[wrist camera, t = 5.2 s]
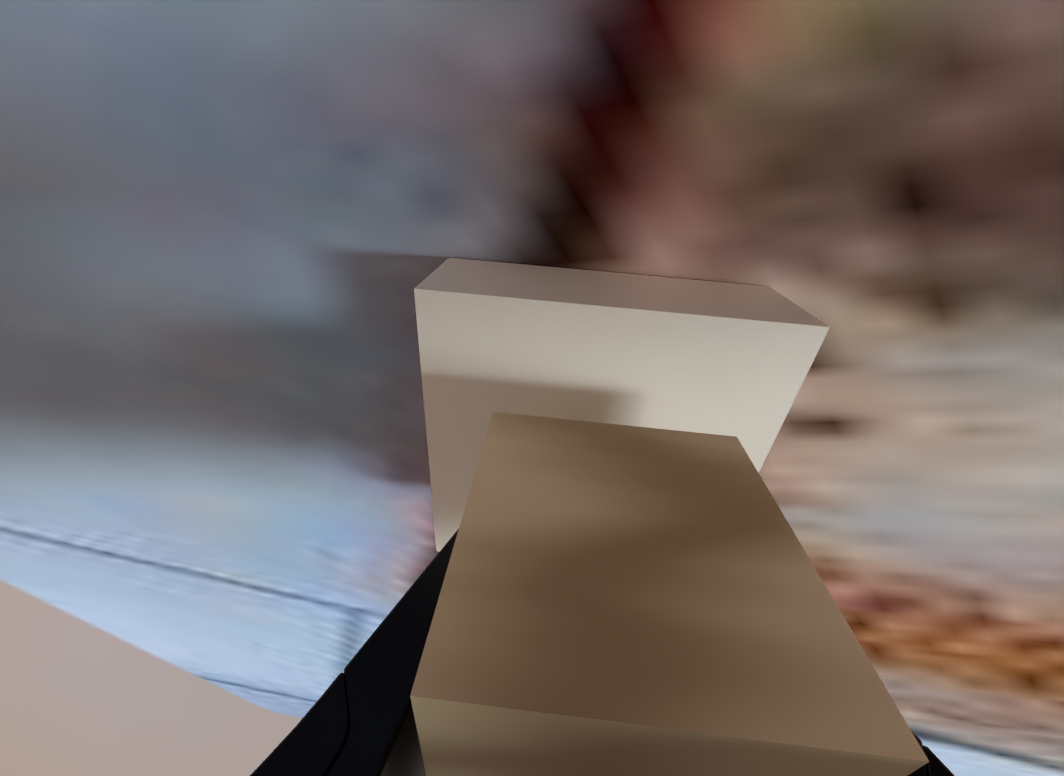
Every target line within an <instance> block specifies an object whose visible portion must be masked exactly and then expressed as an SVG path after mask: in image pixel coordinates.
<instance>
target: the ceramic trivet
mask: <svg viewBox="0 0 1064 776" xmlns="http://www.w3.org/2000/svg"><path fill="white" fill-rule="evenodd" d="M414 295H415V307H416V318H417V330H418V342H419V353H420V365H421V377H422V388H423V400H424V411H425V423H426V435H427V446H428V458H429V469H430V481H431V493H432V504H433V516H434V528H435V539H436V551H441V549H442V548H443V547H444V546H445V544H446V543H447V542H448V541H449V540H450V538H451V537H452V536H453V535H454V533H455V532H456V531H457V530H458V529H459V527H460V523H461V520H462V516H463V513H464V509H465V506H466V502H467V499H468V496H469V492H470V489H471V485H472V482H473V478H474V475H475V472H476V468H477V465H478V461H479V458H480V454H481V451H482V448H483V444H484V441H485V437H486V434H487V430H488V427H489V423H490V420H491V417H492V413H493V412H501V413H511V414H520V415H530V416H540V417H550V418H560V419H569V420H579V421H589V422H599V423H608V424H618V425H628V426H638V427H648V428H657V429H667V430H677V431H687V432H696V433H706V434H716V435H726V436H736V437H737V438H738V439H739V441H740V443H741V444H742V446H743V448H744V449H745V451H746V453H747V455H748V456H749V458H750V460H751V461H752V463H753V465H754V466H755V468H756V470H757V471H758V473H759V471H760V469H761V467H762V465H763V463H764V461H765V459H766V457H767V455H768V453H769V451H770V448H771V446H772V444H773V442H774V440H775V438H776V436H777V434H778V432H779V430H780V428H781V426H782V424H783V422H784V420H785V418H786V416H787V414H788V412H789V410H790V408H791V406H792V404H793V402H794V400H795V397H796V395H797V393H798V391H799V389H800V387H801V385H802V383H803V381H804V379H805V377H806V375H807V373H808V371H809V369H810V367H811V365H812V363H813V361H814V359H815V357H816V355H817V353H818V351H819V349H820V346H821V344H822V342H823V340H824V338H825V336H826V334H827V332H828V330H829V328H830V327H829V326H828V325H826V324H824V323H823V322H821V321H820V320H818V319H817V318H815V317H814V316H812V315H811V314H809V313H808V312H806V311H805V310H803V309H802V308H800V307H799V306H797V305H796V304H794V303H793V302H791V301H790V300H788V299H787V298H785V297H784V296H782V295H781V294H779V293H778V292H776V291H775V290H773V289H772V288H770V287H769V286H759V285H747V284H736V283H725V282H714V281H703V280H692V279H681V278H670V277H658V276H647V275H636V274H625V273H614V272H603V271H592V270H581V269H569V268H558V267H547V266H536V265H525V264H514V263H503V262H491V261H480V260H469V259H458V258H448V259H447V260H446V261H445V262H443V263H442V264H441V265H440V266H439V267H438V268H437V269H436V270H434V271H433V272H432V273H431V274H430V275H429V276H428V277H427V278H425V279H424V280H423V281H422V282H421V283H420V284H419V285H417V286H416V287H415V288H414Z"/></svg>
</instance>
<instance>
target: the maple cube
mask: <svg viewBox="0 0 1064 776" xmlns="http://www.w3.org/2000/svg"><path fill="white" fill-rule="evenodd" d="M410 698H411V703H412V708H413V713H414V718H415V723H416V727H417V732H418V737H419V742H420V747H421V752H422V757H423V762H424V767H425V772H426V776H907V775H909V774H911V773H912V772H914V771H915V770H917V769H919V768H920V767H922V766H923V765H925V764H927V763H928V762H929V760H928V759H927V757H926V755H925V753H924V752H923V750H922V748H921V747H920V745H919V743H918V742H917V740H916V738H915V737H914V735H913V733H912V731H911V730H910V728H909V726H908V725H907V723H906V721H905V720H904V718H903V716H902V715H901V713H900V711H899V710H898V708H897V706H896V704H895V703H894V701H893V699H892V698H891V696H890V694H889V693H888V691H887V689H886V688H885V686H884V684H883V683H882V681H881V679H880V677H879V676H878V674H877V672H876V671H875V669H874V667H873V666H872V664H871V662H870V661H869V659H868V657H867V655H866V654H865V652H864V650H863V649H862V647H861V645H860V644H859V642H858V640H857V639H856V637H855V635H854V634H853V632H852V630H851V628H850V627H849V625H848V623H847V622H846V620H845V618H844V617H843V615H842V613H841V612H840V610H839V608H838V607H837V605H836V603H835V601H834V600H833V598H832V596H831V595H830V593H829V591H828V590H827V588H826V586H825V585H824V583H823V581H822V580H821V578H820V576H819V574H818V573H817V571H816V569H815V568H814V566H813V564H812V563H811V561H810V559H809V558H808V556H807V554H806V552H805V551H804V549H803V547H802V546H801V544H800V542H799V541H798V539H797V537H796V536H795V534H794V532H793V531H792V529H791V527H790V525H789V524H788V522H787V520H786V519H785V517H784V515H783V514H782V512H781V510H780V509H779V507H778V505H777V504H776V502H775V500H774V498H773V497H772V495H771V493H770V492H769V490H768V488H767V487H766V485H765V483H764V482H763V480H762V478H761V476H760V475H759V473H758V471H757V470H756V468H755V466H754V465H753V463H752V461H751V460H750V458H749V456H748V455H747V453H746V451H745V449H744V448H743V446H742V444H741V443H740V441H739V439H738V438H737V437H736V436H726V435H716V434H706V433H696V432H687V431H677V430H667V429H657V428H648V427H638V426H628V425H618V424H608V423H599V422H589V421H579V420H569V419H560V418H550V417H540V416H530V415H520V414H511V413H501V412H493V413H492V417H491V420H490V423H489V427H488V430H487V434H486V437H485V441H484V444H483V448H482V451H481V454H480V458H479V461H478V465H477V468H476V472H475V475H474V478H473V482H472V485H471V489H470V492H469V496H468V499H467V502H466V506H465V509H464V513H463V516H462V520H461V523H460V527H459V530H458V533H457V537H456V540H455V544H454V547H453V551H452V554H451V557H450V561H449V564H448V568H447V571H446V575H445V578H444V581H443V585H442V588H441V592H440V595H439V599H438V602H437V606H436V609H435V612H434V616H433V619H432V623H431V626H430V630H429V633H428V636H427V640H426V643H425V647H424V650H423V654H422V657H421V660H420V664H419V667H418V671H417V674H416V678H415V681H414V684H413V688H412V691H411V695H410Z"/></svg>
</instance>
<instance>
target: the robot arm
mask: <svg viewBox="0 0 1064 776" xmlns="http://www.w3.org/2000/svg"><path fill="white" fill-rule="evenodd" d="M458 530H459V529H458ZM458 530H457V531H456V532H455V533H454V535H453V536H452V537H451V538H450V540H449V541H448V542H447V543H446V544H445V546H444V547H443V548H442V549H441V551H440V552H439V553H438V554H437V556H436V557H435V558H434V559H433V560H432V562H431V563H430V564H429V565H428V567H427V568H426V569H425V570H424V571H423V573H422V574H421V575H420V576H419V578H418V579H417V580H416V581H415V582H414V584H413V585H412V586H411V587H410V589H409V590H408V591H407V592H406V594H405V595H404V596H403V597H402V598H401V600H400V601H399V602H398V603H397V605H396V606H395V607H394V608H393V609H392V611H391V612H390V613H389V614H388V616H387V617H386V618H385V619H384V620H383V622H382V623H381V624H380V625H379V627H378V628H377V629H376V630H375V632H374V633H373V634H372V635H371V636H370V638H369V639H368V640H367V641H366V643H365V644H364V645H363V646H362V647H361V649H360V650H359V651H358V652H357V654H356V655H355V656H354V657H353V659H352V660H351V661H350V662H349V663H348V665H347V666H346V667H345V669H344V673H340V674H339V675H338V677H337V678H336V679H335V680H334V682H333V683H332V684H331V685H330V686H329V688H328V689H327V690H326V691H325V693H324V694H323V695H322V696H321V697H320V699H319V700H318V701H317V702H316V703H315V704H314V706H313V707H312V708H311V709H310V710H309V711H308V713H307V714H306V715H305V716H304V717H303V718H302V720H301V721H300V722H299V723H298V724H297V726H296V727H295V728H294V729H293V730H292V731H291V732H290V733H289V734H288V735H287V736H286V738H285V739H284V740H283V741H282V742H281V743H280V744H279V745H278V746H277V748H275V749H274V750H273V752H272V753H271V754H270V755H269V756H268V757H267V758H266V759H265V760H264V761H263V762H262V764H261V765H260V766H259V767H258V768H257V769H256V770H255V771H254V772H253V773H252V774H251V775H250V776H426V772H425V767H424V762H423V757H422V752H421V747H420V742H419V737H418V732H417V727H416V723H415V718H414V713H413V708H412V703H411V698H410V695H411V691H412V688H413V684H414V681H415V678H416V674H417V671H418V667H419V664H420V660H421V657H422V654H423V650H424V647H425V643H426V640H427V636H428V633H429V630H430V626H431V623H432V619H433V616H434V612H435V609H436V606H437V602H438V599H439V595H440V592H441V588H442V585H443V581H444V578H445V575H446V571H447V568H448V564H449V561H450V557H451V554H452V551H453V547H454V544H455V540H456V537H457V533H458ZM910 730H911V729H910ZM912 733H913V732H912ZM913 735H914V737H915V738H916V740H917V742H918V743H919V745H920V747H921V748H922V750H923V752H924V753H925V755H926V757H927V759H928V760H929V762H928V763H927V764H925V765H923V766H922V767H920V768H919V769H917V770H915V771H914V772H912V773H911V774H909V775H907V776H954V775H953V774H952V773H951V771H950V770H949V769H948V768H947V767H946V766H945V765H944V764H943V763H942V762H941V761H940V760H939V759H938V758H937V757H936V756H935V755H934V754H933V752H932V751H931V750H930V749H929V748H928V747H926V746H923V745H922V742H921V740H920V739H919V738H918V737H917V736H916V735H915V734H914V733H913Z"/></svg>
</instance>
